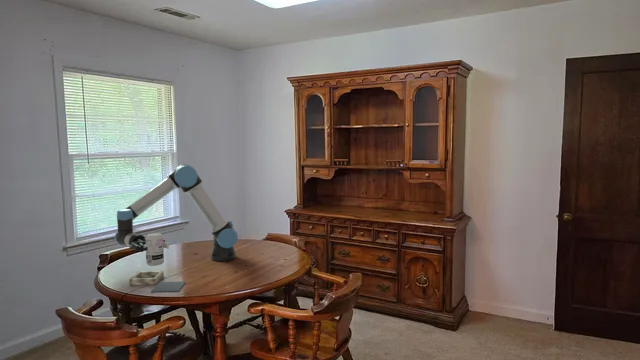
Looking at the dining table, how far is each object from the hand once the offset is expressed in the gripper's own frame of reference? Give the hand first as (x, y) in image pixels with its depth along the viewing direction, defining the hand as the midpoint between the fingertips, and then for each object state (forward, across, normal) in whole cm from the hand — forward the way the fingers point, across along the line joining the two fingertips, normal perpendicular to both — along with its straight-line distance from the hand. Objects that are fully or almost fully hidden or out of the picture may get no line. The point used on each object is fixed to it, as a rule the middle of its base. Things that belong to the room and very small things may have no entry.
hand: (160, 247), depth 207 cm
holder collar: (-14, -1, -20) cm, 24 cm away
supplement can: (-5, 0, -9) cm, 10 cm away
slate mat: (+4, -2, -20) cm, 20 cm away
